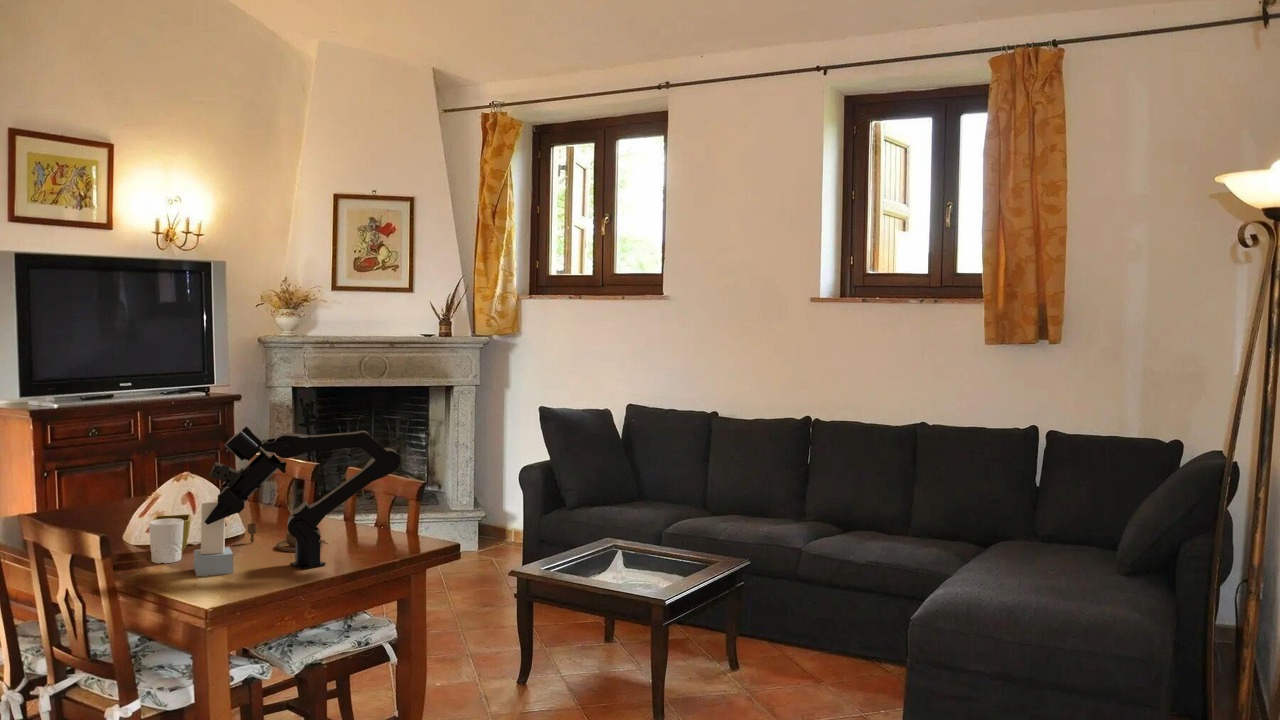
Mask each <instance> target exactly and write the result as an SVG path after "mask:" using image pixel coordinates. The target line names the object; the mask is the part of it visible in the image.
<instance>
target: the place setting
mask: <svg viewBox="0 0 1280 720" xmlns="http://www.w3.org/2000/svg"><path fill="white" fill-rule="evenodd" d="M257 532H258V523H256V522H255V523H254V522H253V523H248V524H247V533H248V534H249V535H250V543H253V542H254V541H255V534H257ZM285 534H286V535H285V537H286V539H284V540H281V541H279V542H276V544H275V545H276V549H277V550H278V549H279V550H278V551H280V550H283V551H282V552H285V551H290V552H289V553H295V546H296V540H297V539H296V537H293V536H292V535H291V534H290V533H289V531H286V533H285ZM254 543H255V542H254ZM284 544H288V545H287V546H290V547H286V546H285V545H284ZM324 544H326V545H329V543H328V542H326V540H324V539H321V538H320V549H321V548H322V547H323V545H324ZM281 545H284V546H285V547H284V546H281Z"/></svg>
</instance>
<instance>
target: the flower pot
mask: <svg viewBox="0 0 1280 720" xmlns="http://www.w3.org/2000/svg"><path fill="white" fill-rule="evenodd" d="M167 518H176V519H182V520H184V526H183V541H182V550H181V551H182V553H184V550H185V548H186V546H187V542H188V539H189V535H190V528H191V520H192V515H191V514H189V513H188V514H187V513H186V514H173V515H156V516H154V518H153V520H158V519H167ZM153 520H152V521H153Z"/></svg>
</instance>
